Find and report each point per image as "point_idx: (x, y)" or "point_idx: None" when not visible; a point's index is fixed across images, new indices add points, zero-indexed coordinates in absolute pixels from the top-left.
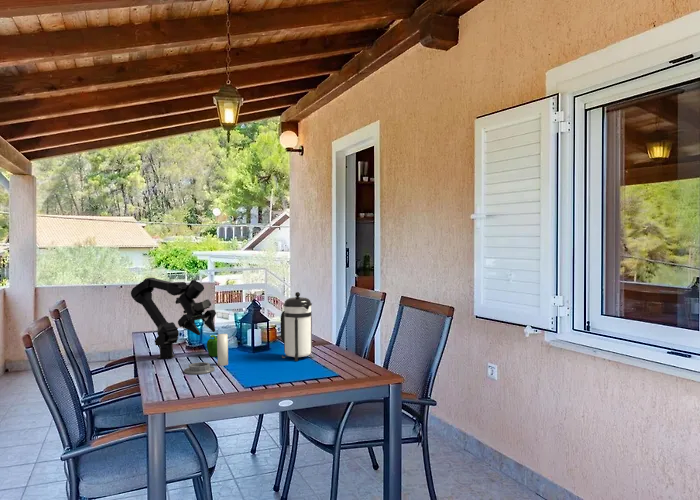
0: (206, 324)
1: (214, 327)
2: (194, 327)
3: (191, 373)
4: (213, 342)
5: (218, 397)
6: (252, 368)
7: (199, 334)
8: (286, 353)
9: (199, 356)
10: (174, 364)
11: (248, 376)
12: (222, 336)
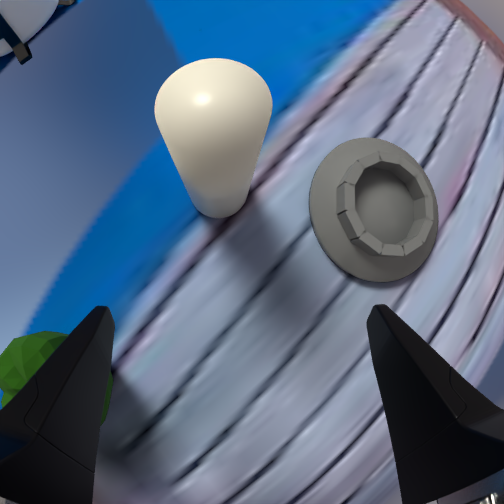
0: (88, 480)
1: (75, 333)
2: (453, 377)
3: (433, 197)
4: None
5: (475, 22)
6: (222, 33)
7: (383, 309)
8: (42, 21)
9: (135, 441)
10: (332, 424)
11: (325, 3)
12: (255, 78)
